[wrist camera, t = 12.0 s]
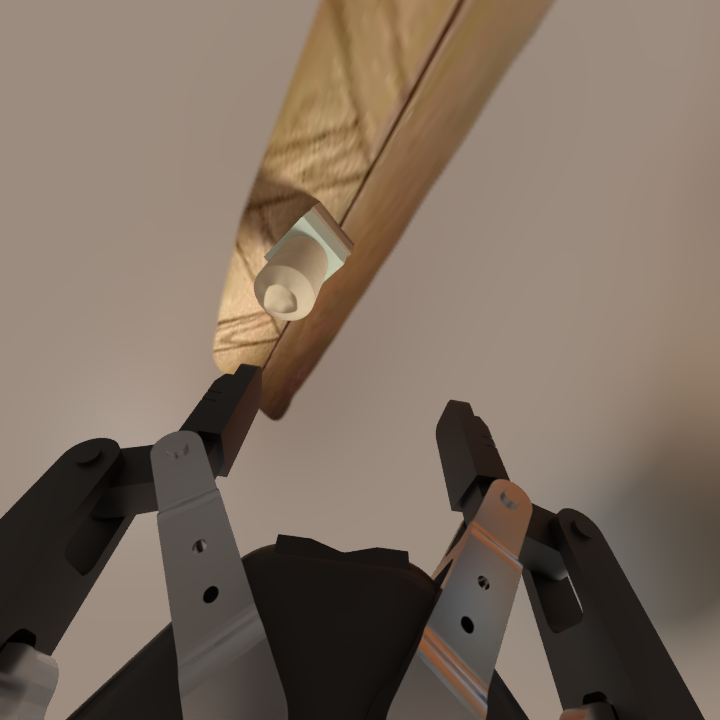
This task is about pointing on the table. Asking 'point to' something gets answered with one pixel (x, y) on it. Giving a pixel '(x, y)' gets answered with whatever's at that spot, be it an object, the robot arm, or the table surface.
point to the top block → (320, 233)
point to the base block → (332, 227)
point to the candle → (292, 279)
